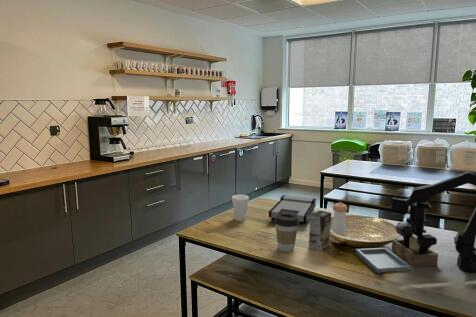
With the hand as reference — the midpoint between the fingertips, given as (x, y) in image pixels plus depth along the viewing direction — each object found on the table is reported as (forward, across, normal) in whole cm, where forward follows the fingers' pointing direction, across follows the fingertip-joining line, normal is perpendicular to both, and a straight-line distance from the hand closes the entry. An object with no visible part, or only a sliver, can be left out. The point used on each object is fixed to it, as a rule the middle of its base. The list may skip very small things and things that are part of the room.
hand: (413, 252), depth 146 cm
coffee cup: (+4, -18, -51) cm, 54 cm away
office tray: (+4, -61, -34) cm, 70 cm away
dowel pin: (+2, 0, 0) cm, 2 cm away
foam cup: (+4, -60, -66) cm, 89 cm away
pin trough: (+4, 0, 0) cm, 4 cm away
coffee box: (+4, -18, -35) cm, 40 cm away
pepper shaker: (+4, -24, -23) cm, 34 cm away
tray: (+4, +1, -15) cm, 15 cm away
